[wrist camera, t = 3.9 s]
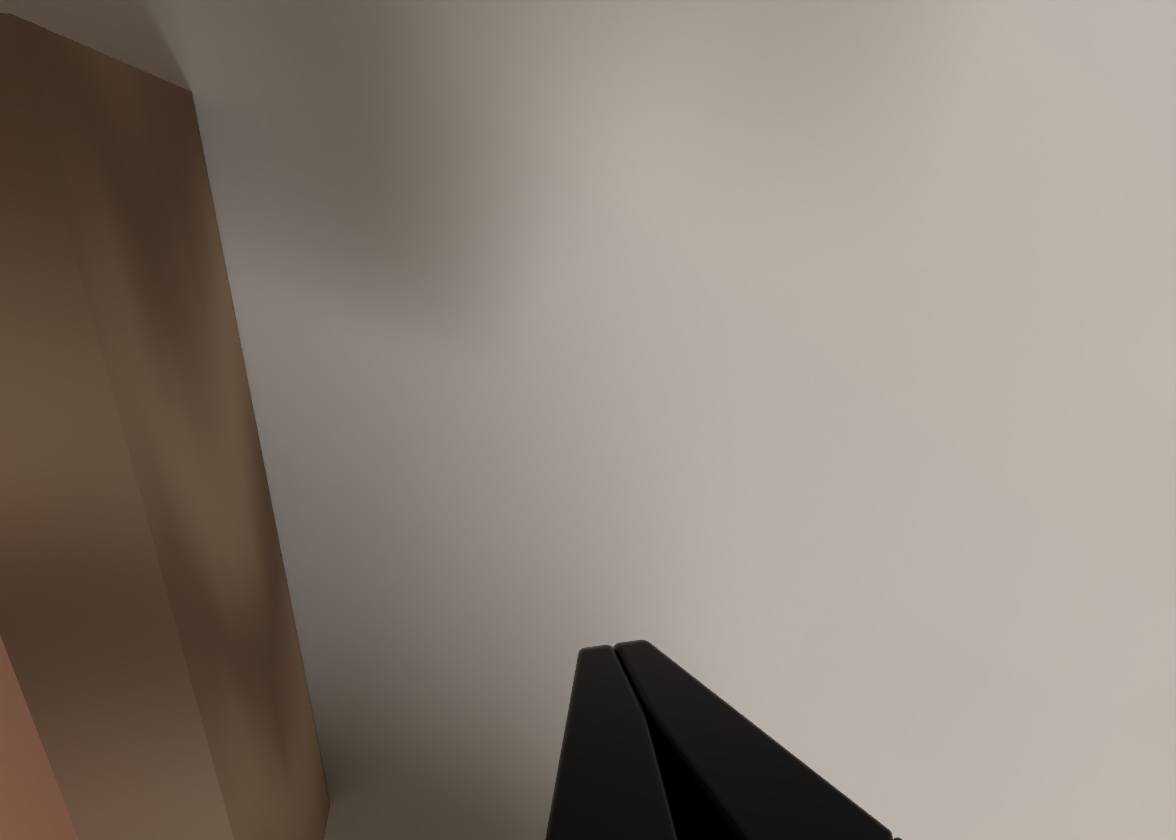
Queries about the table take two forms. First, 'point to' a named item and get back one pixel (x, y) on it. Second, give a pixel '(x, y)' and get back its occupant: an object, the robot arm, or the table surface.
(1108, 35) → the table surface
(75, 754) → the brown flat block
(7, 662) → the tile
